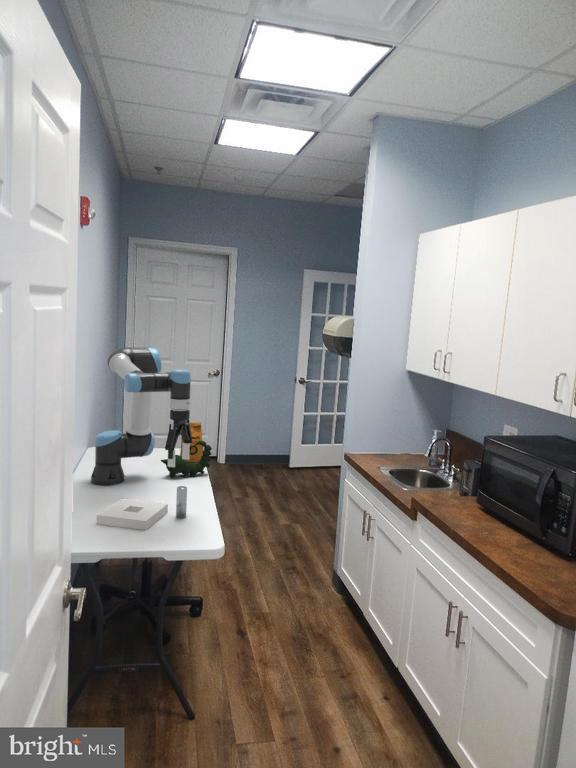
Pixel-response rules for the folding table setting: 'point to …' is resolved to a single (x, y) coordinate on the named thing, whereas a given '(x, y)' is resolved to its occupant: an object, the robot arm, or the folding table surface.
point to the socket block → (132, 514)
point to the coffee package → (197, 450)
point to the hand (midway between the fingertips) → (178, 463)
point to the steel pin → (181, 502)
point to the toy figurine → (189, 467)
